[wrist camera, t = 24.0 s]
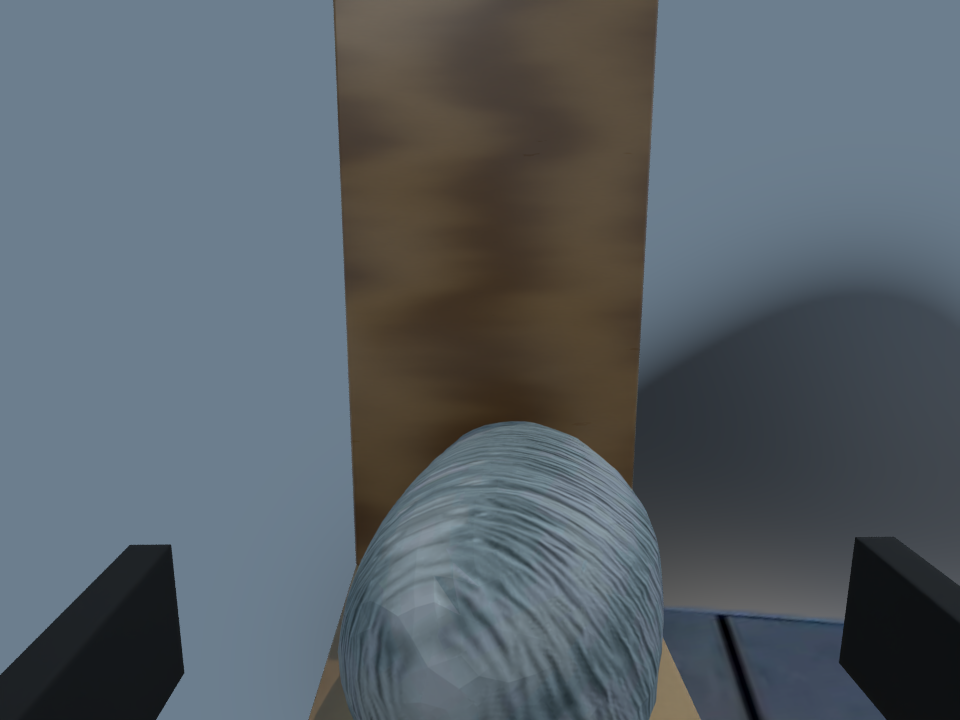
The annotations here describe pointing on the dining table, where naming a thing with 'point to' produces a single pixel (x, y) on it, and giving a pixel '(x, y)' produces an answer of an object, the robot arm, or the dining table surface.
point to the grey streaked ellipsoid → (507, 589)
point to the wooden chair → (491, 238)
